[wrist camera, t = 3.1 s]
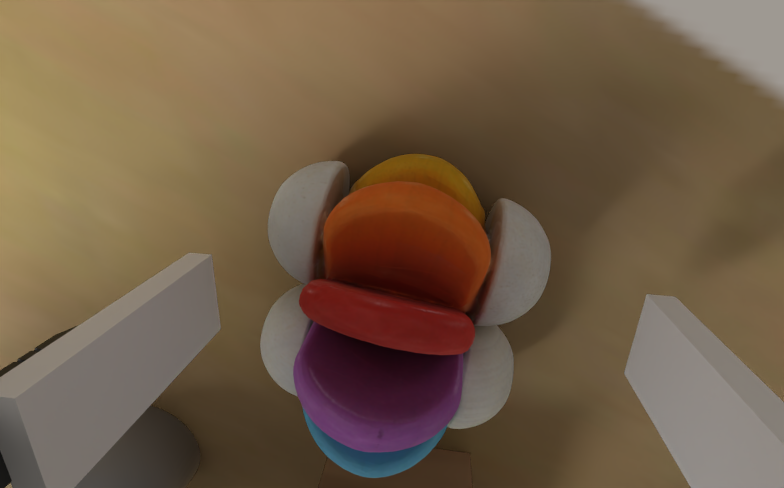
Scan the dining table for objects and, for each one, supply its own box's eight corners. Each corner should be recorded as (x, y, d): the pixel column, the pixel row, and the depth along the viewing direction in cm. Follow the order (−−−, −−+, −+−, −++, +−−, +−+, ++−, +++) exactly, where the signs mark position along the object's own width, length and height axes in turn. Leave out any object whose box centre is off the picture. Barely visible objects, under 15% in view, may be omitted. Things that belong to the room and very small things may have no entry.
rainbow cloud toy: (554, 171, 14) (654, 250, 7) (481, 400, 18) (504, 596, 11) (305, 122, 15) (184, 156, 8) (282, 356, 18) (186, 520, 11)
